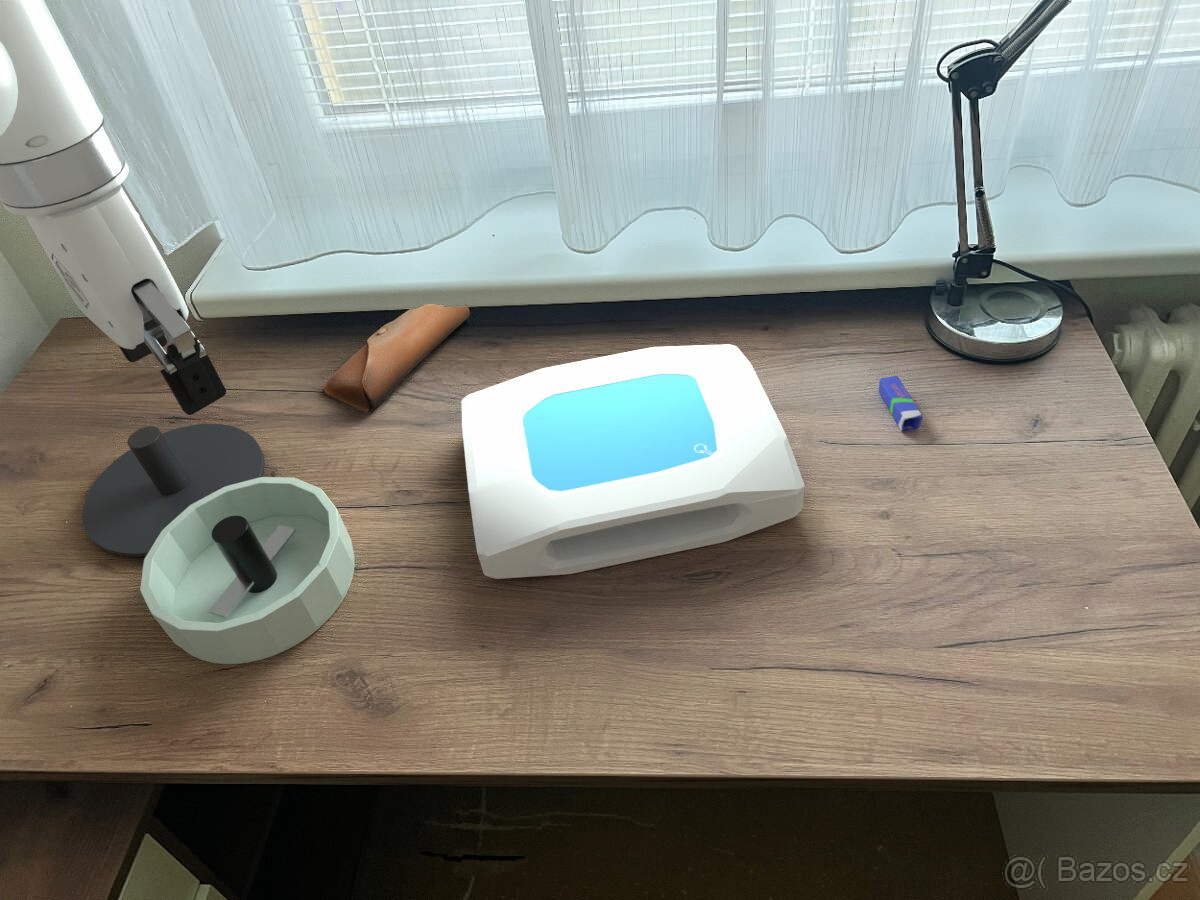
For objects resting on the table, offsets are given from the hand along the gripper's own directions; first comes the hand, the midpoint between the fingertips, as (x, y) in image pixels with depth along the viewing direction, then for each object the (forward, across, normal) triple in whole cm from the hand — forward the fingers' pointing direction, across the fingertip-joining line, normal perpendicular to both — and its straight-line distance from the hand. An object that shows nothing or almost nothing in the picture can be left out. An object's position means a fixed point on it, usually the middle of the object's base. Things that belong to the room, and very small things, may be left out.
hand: (176, 377), depth 66 cm
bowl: (+21, +2, -3) cm, 21 cm away
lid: (+20, -15, -2) cm, 25 cm away
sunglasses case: (+21, -14, +25) cm, 35 cm away
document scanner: (+21, +18, +28) cm, 39 cm away
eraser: (+21, +34, +51) cm, 64 cm away
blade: (+20, +2, -3) cm, 21 cm away
